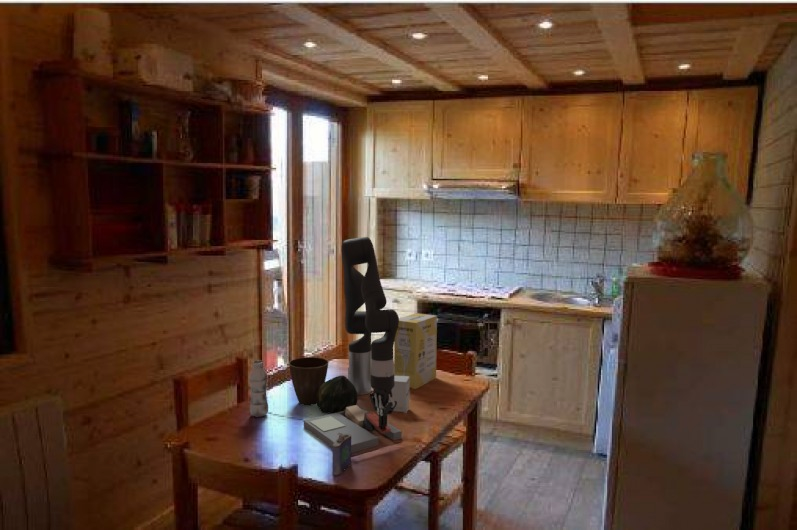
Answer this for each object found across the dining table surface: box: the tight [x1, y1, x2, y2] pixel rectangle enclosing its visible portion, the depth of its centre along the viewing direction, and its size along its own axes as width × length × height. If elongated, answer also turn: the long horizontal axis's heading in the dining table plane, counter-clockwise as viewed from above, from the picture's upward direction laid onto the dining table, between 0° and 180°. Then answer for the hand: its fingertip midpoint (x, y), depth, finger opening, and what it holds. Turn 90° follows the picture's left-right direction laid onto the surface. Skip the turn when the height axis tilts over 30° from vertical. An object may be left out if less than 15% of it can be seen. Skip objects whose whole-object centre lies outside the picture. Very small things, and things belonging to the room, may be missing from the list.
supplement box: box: [391, 376, 410, 414], centre depth 209 cm, size 7×7×13 cm
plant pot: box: [288, 356, 329, 407], centre depth 217 cm, size 15×15×16 cm
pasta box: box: [393, 312, 438, 390], centre depth 244 cm, size 18×10×28 cm, turn 148°
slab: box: [345, 404, 365, 428], centre depth 192 cm, size 9×4×3 cm, turn 36°
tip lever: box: [344, 409, 391, 435], centre depth 188 cm, size 23×6×8 cm, turn 35°
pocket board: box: [303, 406, 403, 458], centre depth 186 cm, size 26×22×4 cm
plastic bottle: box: [248, 359, 269, 418], centre depth 203 cm, size 6×7×20 cm
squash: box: [315, 375, 358, 414], centre depth 207 cm, size 14×15×15 cm
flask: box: [331, 433, 352, 477], centre depth 163 cm, size 9×3×11 cm, turn 158°
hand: (383, 425), depth 179 cm, fingers closed
